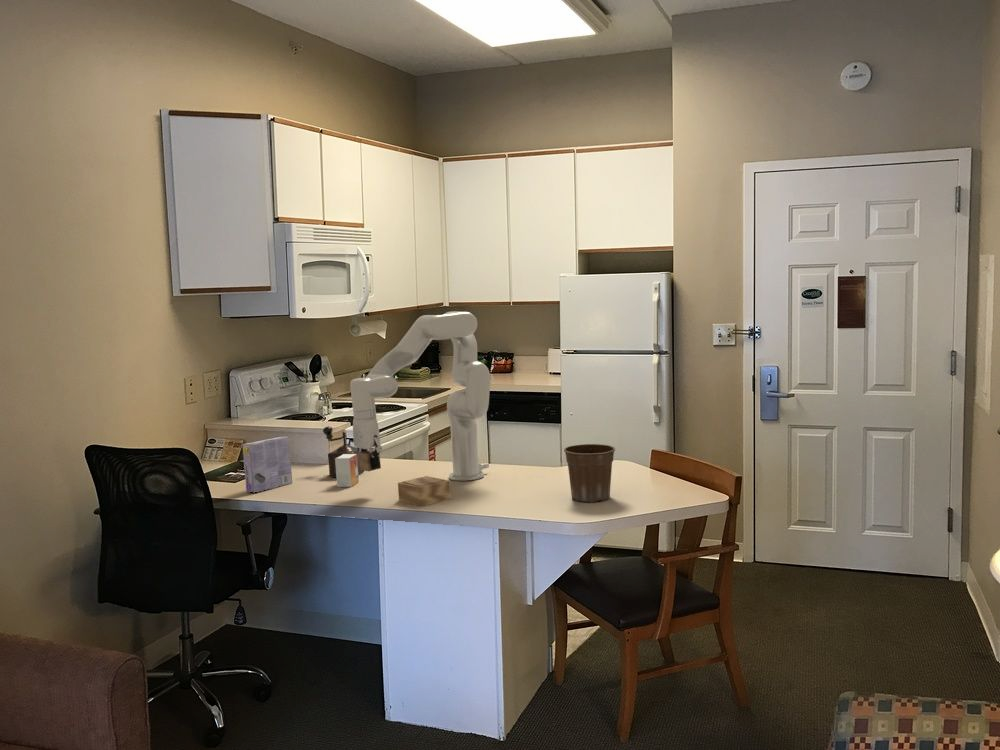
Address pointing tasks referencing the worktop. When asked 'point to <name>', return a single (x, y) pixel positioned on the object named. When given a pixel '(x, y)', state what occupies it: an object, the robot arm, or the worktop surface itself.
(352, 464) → the small box
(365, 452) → the walnut block
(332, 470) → the manual coffee grinder
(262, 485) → the cake pan box
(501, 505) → the worktop surface
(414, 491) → the oak base
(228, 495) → the worktop surface
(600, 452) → the plant pot
